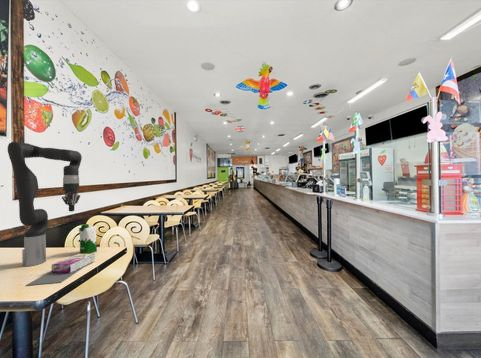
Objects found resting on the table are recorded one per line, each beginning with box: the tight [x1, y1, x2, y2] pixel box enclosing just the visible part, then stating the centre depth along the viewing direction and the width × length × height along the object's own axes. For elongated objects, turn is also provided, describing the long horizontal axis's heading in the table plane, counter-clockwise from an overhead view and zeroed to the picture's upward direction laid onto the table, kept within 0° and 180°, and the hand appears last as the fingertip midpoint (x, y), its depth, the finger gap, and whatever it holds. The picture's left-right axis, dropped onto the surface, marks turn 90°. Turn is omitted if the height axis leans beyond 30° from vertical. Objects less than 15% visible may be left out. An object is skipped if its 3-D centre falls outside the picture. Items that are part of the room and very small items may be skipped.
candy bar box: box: [51, 253, 96, 273], centre depth 114 cm, size 11×5×16 cm
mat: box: [25, 266, 86, 287], centre depth 105 cm, size 15×20×1 cm
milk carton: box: [78, 223, 98, 254], centre depth 139 cm, size 9×9×20 cm
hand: (71, 211), depth 120 cm, fingers closed
